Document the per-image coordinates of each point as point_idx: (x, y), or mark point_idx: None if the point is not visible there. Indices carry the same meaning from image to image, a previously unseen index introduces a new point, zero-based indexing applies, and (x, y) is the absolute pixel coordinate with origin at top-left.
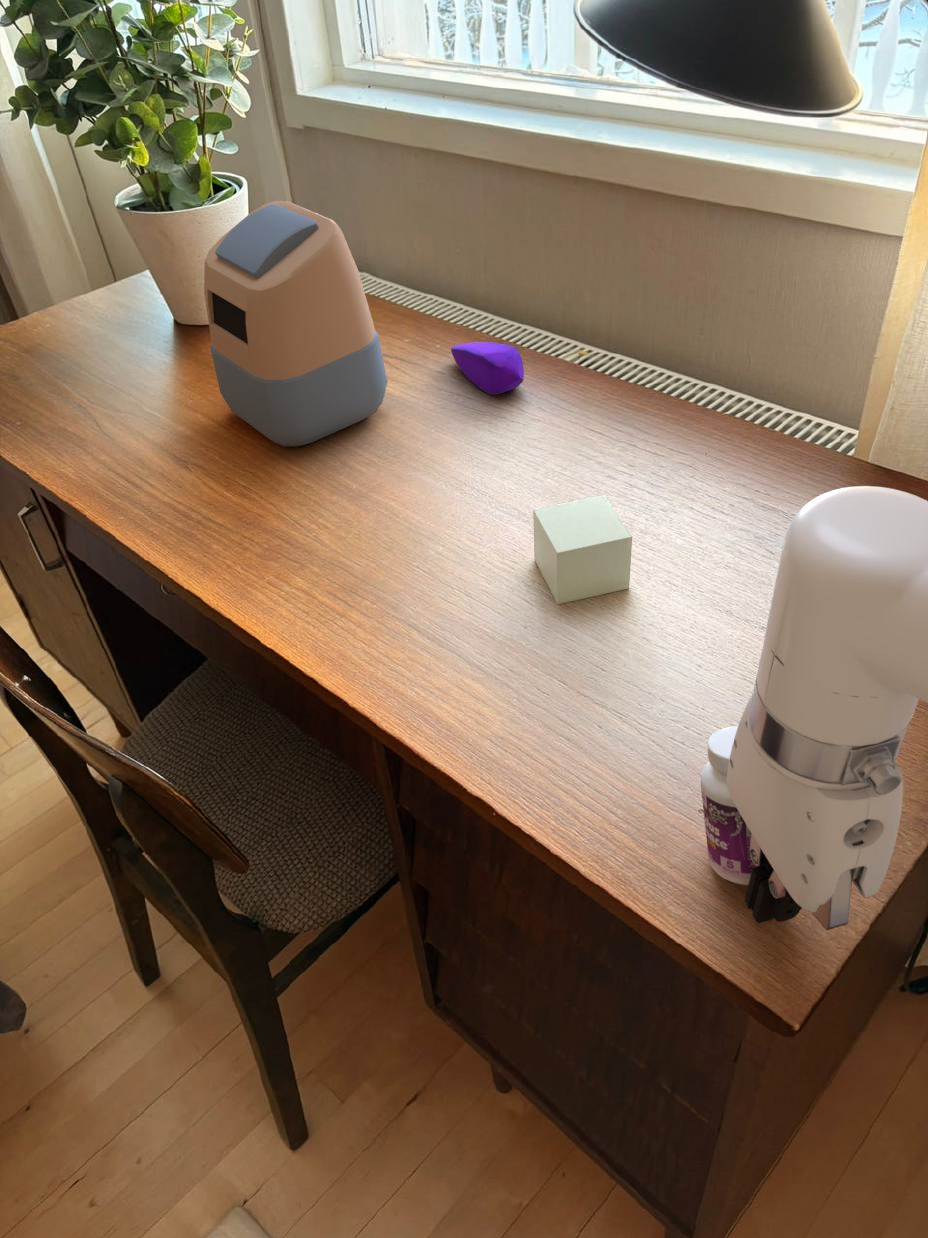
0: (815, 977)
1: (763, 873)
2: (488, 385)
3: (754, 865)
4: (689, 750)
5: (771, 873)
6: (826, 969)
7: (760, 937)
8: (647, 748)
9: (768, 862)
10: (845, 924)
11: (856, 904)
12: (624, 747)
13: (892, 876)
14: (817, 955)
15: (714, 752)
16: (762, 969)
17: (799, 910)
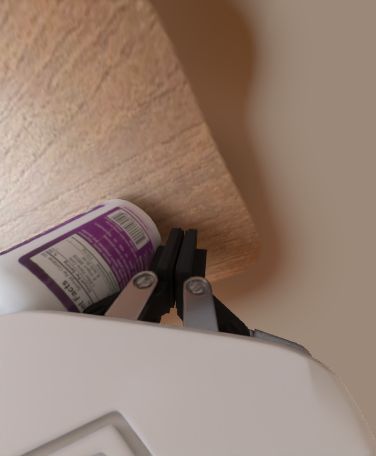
0: (250, 231)
1: (168, 307)
2: None
3: (147, 269)
4: (3, 204)
5: (170, 299)
6: (249, 219)
7: (200, 248)
8: (7, 234)
9: (161, 315)
10: (309, 355)
11: (202, 150)
12: (9, 248)
13: (183, 76)
14: (234, 218)
15: None
16: (225, 260)
17: (206, 254)
